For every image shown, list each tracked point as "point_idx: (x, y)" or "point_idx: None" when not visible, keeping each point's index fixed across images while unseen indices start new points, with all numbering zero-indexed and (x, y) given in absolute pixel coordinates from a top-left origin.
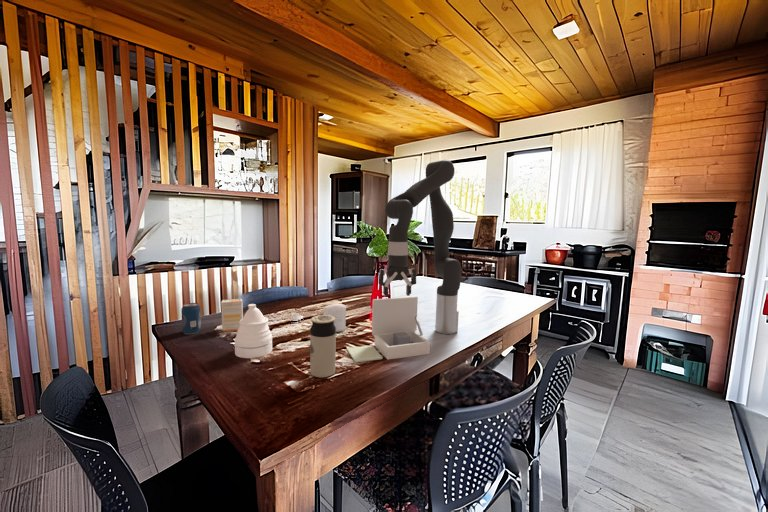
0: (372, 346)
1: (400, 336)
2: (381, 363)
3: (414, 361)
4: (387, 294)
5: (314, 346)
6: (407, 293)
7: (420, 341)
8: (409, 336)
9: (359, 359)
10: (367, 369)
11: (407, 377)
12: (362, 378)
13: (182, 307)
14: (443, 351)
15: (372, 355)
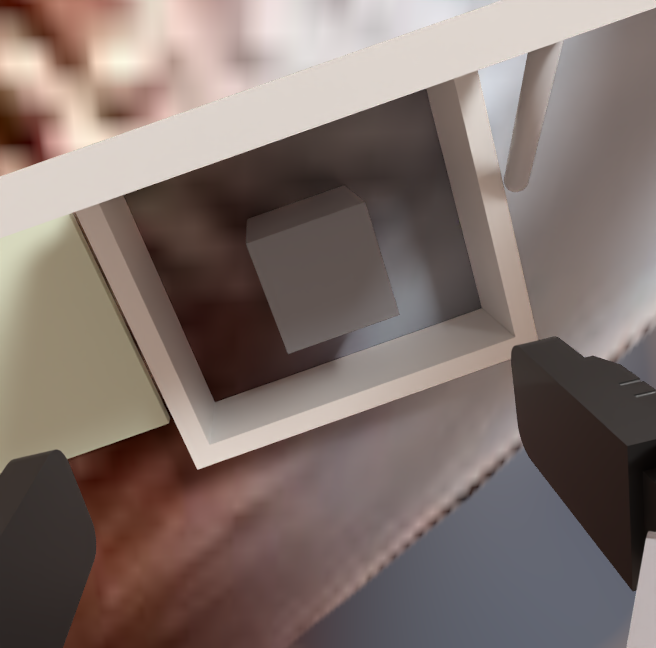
0: (73, 231)
1: (308, 328)
2: (167, 477)
3: (378, 436)
4: (74, 583)
5: None
6: (536, 441)
7: (479, 233)
8: (389, 317)
9: None
10: None
11: (312, 612)
12: (73, 644)
13: None
14: (612, 269)
15: (94, 399)
